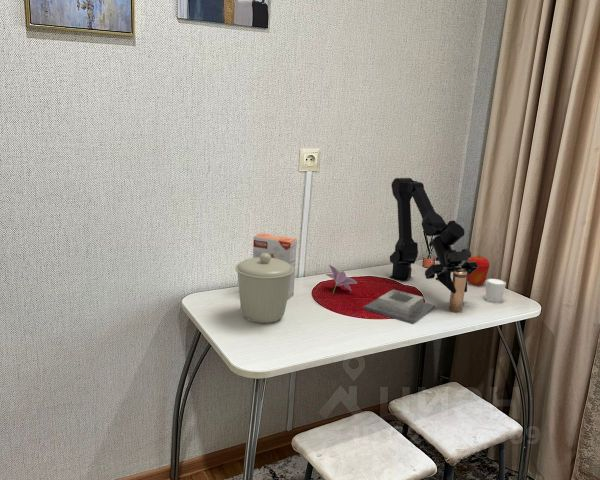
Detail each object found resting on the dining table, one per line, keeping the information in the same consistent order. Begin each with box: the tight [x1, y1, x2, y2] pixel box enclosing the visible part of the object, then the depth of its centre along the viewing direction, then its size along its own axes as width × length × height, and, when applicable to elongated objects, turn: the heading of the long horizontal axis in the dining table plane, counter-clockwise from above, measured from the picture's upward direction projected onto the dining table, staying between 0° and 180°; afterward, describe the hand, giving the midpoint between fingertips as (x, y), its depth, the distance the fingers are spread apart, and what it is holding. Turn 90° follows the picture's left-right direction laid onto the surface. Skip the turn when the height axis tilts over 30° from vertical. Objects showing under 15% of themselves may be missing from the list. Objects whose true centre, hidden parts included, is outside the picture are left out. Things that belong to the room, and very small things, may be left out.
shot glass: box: [484, 278, 507, 303], centre depth 208 cm, size 7×7×7 cm
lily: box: [325, 264, 358, 295], centre depth 207 cm, size 12×12×10 cm
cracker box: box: [252, 232, 298, 301], centre depth 199 cm, size 14×6×21 cm, turn 68°
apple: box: [466, 254, 490, 286], centre depth 224 cm, size 9×8×12 cm
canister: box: [234, 253, 294, 324], centre depth 179 cm, size 18×18×21 cm
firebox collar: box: [363, 288, 436, 325], centre depth 195 cm, size 18×18×4 cm
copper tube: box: [448, 269, 467, 314], centre depth 195 cm, size 4×4×14 cm
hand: (460, 292), depth 194 cm, fingers closed on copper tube, 4 cm apart
